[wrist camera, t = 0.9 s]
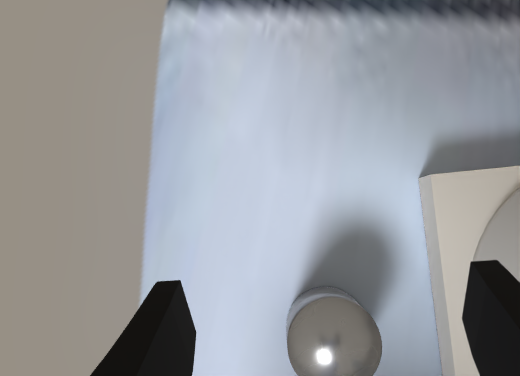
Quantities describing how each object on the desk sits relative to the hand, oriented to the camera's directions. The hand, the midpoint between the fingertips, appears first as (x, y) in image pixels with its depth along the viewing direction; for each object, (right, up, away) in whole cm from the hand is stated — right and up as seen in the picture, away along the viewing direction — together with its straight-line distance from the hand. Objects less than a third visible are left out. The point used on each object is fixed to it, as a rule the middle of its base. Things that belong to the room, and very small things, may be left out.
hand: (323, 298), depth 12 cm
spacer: (+2, -4, +12) cm, 13 cm away
